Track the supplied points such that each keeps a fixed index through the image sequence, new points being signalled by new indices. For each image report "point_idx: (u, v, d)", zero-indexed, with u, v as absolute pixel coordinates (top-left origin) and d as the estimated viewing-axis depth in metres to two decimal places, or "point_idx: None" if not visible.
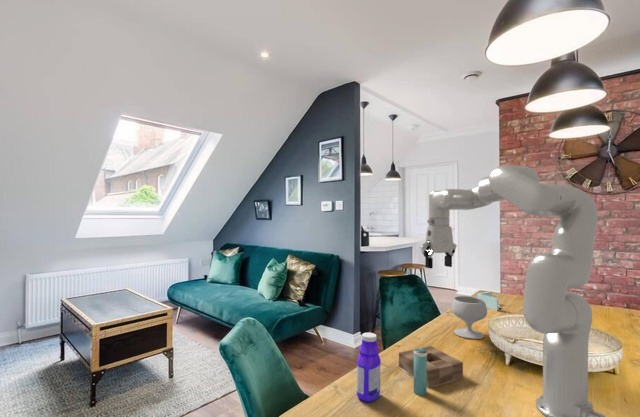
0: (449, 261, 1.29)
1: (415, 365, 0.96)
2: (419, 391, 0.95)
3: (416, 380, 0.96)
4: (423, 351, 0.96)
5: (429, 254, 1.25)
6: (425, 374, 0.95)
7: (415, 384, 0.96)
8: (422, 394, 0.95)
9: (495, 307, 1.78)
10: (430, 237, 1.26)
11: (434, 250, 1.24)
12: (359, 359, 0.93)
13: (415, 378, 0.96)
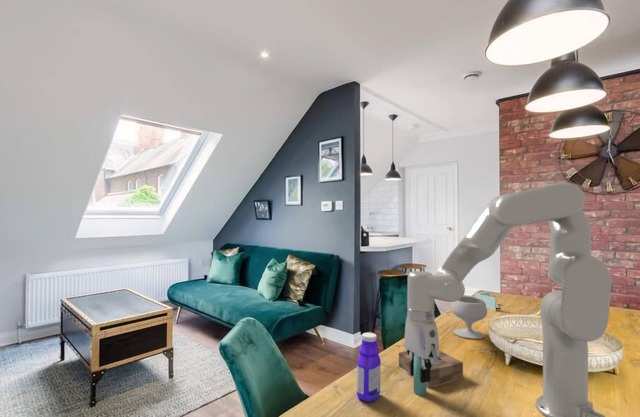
0: None
1: (415, 365, 0.96)
2: (419, 391, 0.95)
3: (416, 380, 0.96)
4: None
5: None
6: None
7: (415, 384, 0.96)
8: (422, 394, 0.95)
9: (493, 307, 1.78)
10: (435, 339, 0.93)
11: None
12: (359, 359, 0.93)
13: (415, 378, 0.96)
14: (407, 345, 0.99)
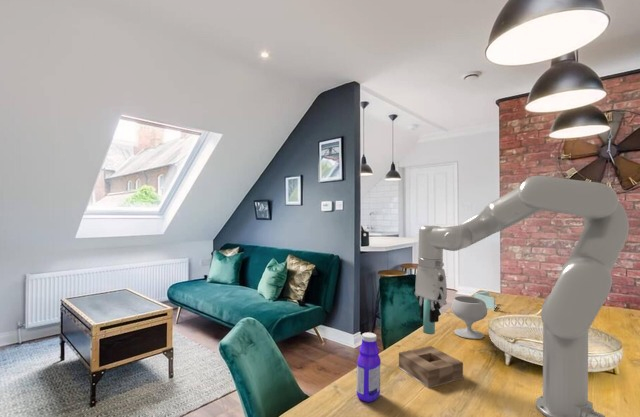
0: None
1: (425, 308, 1.08)
2: (428, 330, 1.07)
3: (425, 321, 1.08)
4: None
5: None
6: None
7: (425, 324, 1.08)
8: (431, 333, 1.07)
9: (492, 307, 1.78)
10: (443, 283, 1.05)
11: None
12: (359, 359, 0.93)
13: (424, 319, 1.08)
14: (418, 291, 1.11)
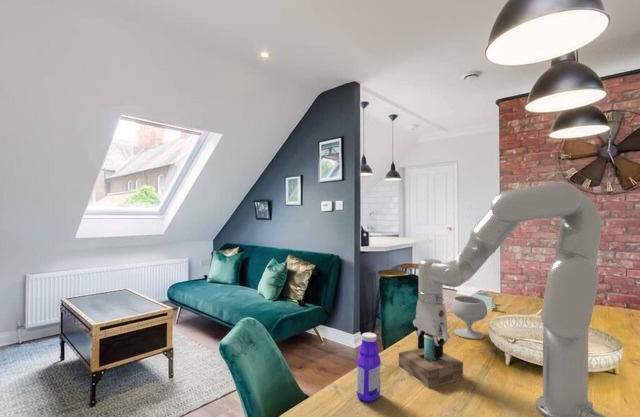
0: None
1: (425, 347, 1.08)
2: None
3: None
4: None
5: None
6: None
7: None
8: None
9: (490, 307, 1.79)
10: (443, 318, 1.05)
11: None
12: (359, 359, 0.93)
13: (425, 359, 1.08)
14: (418, 325, 1.11)
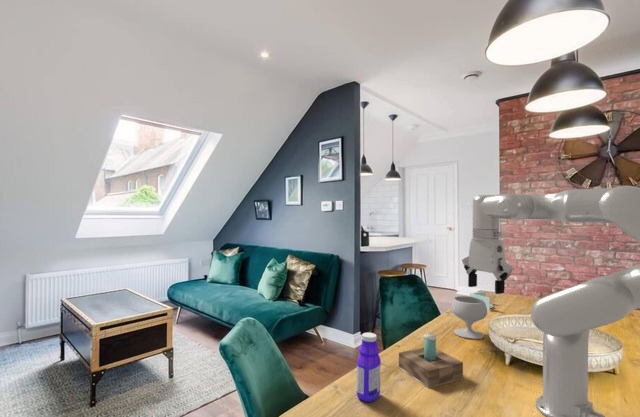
0: (475, 280, 1.08)
1: (425, 348, 1.08)
2: None
3: None
4: (432, 335, 1.08)
5: None
6: (434, 355, 1.07)
7: None
8: None
9: (487, 307, 1.79)
10: (502, 254, 1.00)
11: None
12: (359, 359, 0.93)
13: (425, 359, 1.08)
14: (472, 264, 1.06)
